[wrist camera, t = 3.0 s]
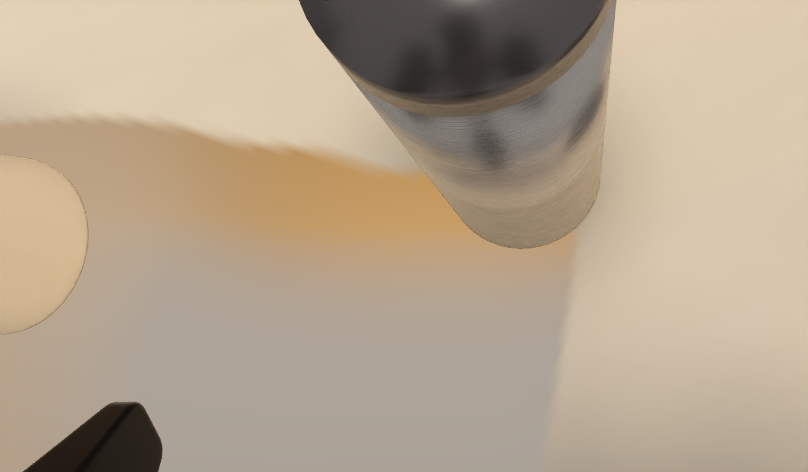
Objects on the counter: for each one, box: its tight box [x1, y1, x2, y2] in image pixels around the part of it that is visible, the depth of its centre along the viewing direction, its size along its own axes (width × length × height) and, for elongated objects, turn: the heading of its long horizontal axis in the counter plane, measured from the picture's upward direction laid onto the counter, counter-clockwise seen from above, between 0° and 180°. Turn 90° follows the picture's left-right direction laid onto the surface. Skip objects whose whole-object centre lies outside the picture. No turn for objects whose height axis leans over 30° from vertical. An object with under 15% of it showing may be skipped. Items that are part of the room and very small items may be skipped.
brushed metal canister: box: [299, 0, 616, 249], centre depth 17 cm, size 4×4×13 cm
